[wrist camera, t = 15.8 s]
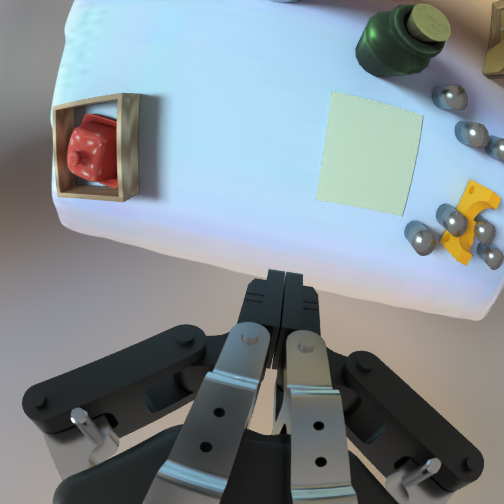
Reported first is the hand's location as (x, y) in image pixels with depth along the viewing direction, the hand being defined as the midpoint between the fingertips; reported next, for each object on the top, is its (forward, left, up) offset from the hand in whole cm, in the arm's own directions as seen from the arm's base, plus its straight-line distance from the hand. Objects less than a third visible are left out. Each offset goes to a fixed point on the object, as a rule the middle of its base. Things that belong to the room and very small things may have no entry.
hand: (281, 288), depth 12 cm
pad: (-4, +11, -29) cm, 31 cm away
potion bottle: (-19, +10, -29) cm, 36 cm away
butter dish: (-1, -32, -30) cm, 43 cm away
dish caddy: (-2, -32, -29) cm, 43 cm away
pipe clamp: (+1, +30, -29) cm, 42 cm away
